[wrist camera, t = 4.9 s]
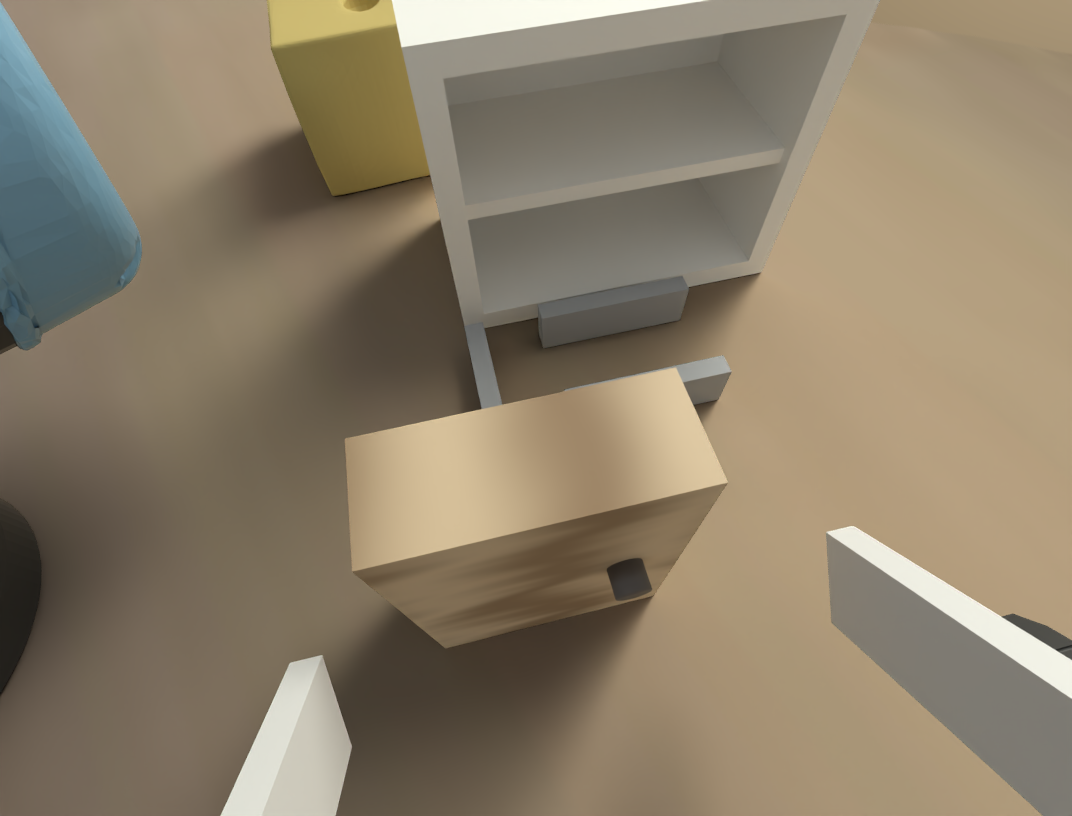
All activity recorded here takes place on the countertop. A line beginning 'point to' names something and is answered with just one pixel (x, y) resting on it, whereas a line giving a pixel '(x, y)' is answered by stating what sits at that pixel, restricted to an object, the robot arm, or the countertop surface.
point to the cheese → (349, 90)
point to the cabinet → (616, 152)
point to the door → (531, 506)
